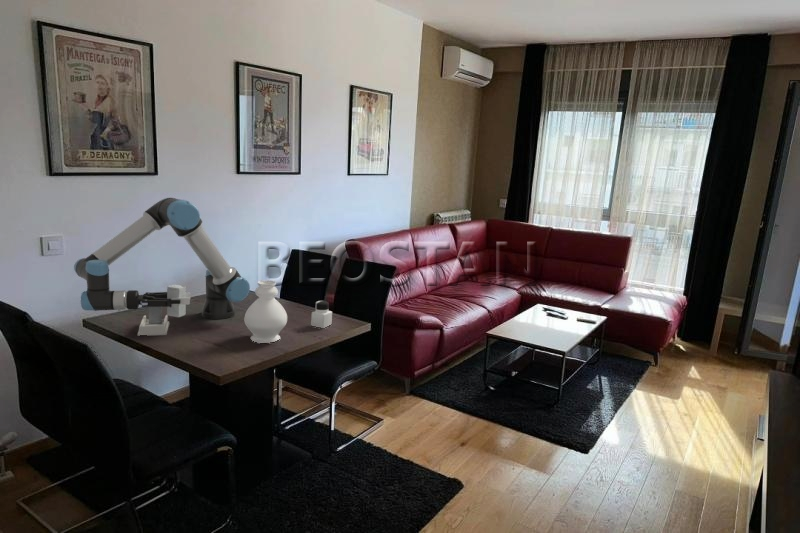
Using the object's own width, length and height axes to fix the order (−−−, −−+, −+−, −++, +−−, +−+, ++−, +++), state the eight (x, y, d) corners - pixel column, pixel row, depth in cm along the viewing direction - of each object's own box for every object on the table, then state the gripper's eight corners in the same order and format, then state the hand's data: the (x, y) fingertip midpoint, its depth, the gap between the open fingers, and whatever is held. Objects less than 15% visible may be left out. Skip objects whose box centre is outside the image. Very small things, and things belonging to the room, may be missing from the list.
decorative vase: (264, 349, 217) (266, 289, 212) (235, 339, 226) (235, 281, 221) (295, 338, 232) (297, 282, 227) (265, 329, 241) (267, 275, 236)
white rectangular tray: (169, 323, 240) (169, 314, 239) (166, 334, 225) (166, 325, 224) (142, 324, 236) (142, 315, 235) (137, 335, 221) (137, 326, 220)
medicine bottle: (331, 325, 253) (332, 301, 251) (323, 329, 247) (324, 304, 245) (319, 323, 256) (320, 298, 254) (310, 326, 250) (311, 301, 247)
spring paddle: (162, 322, 237) (161, 305, 235) (161, 323, 235) (161, 305, 234) (149, 322, 235) (148, 305, 233) (148, 323, 234) (148, 305, 232)
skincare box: (166, 315, 214) (165, 286, 212) (174, 312, 219) (173, 284, 216) (179, 317, 213) (178, 288, 210) (186, 314, 217) (186, 286, 215)
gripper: (131, 302, 218) (191, 300, 226) (123, 316, 200) (188, 314, 208) (130, 284, 217) (190, 283, 224) (122, 297, 199) (188, 295, 206)
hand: (189, 298), depth 216 cm, fingers closed on skincare box, 7 cm apart
